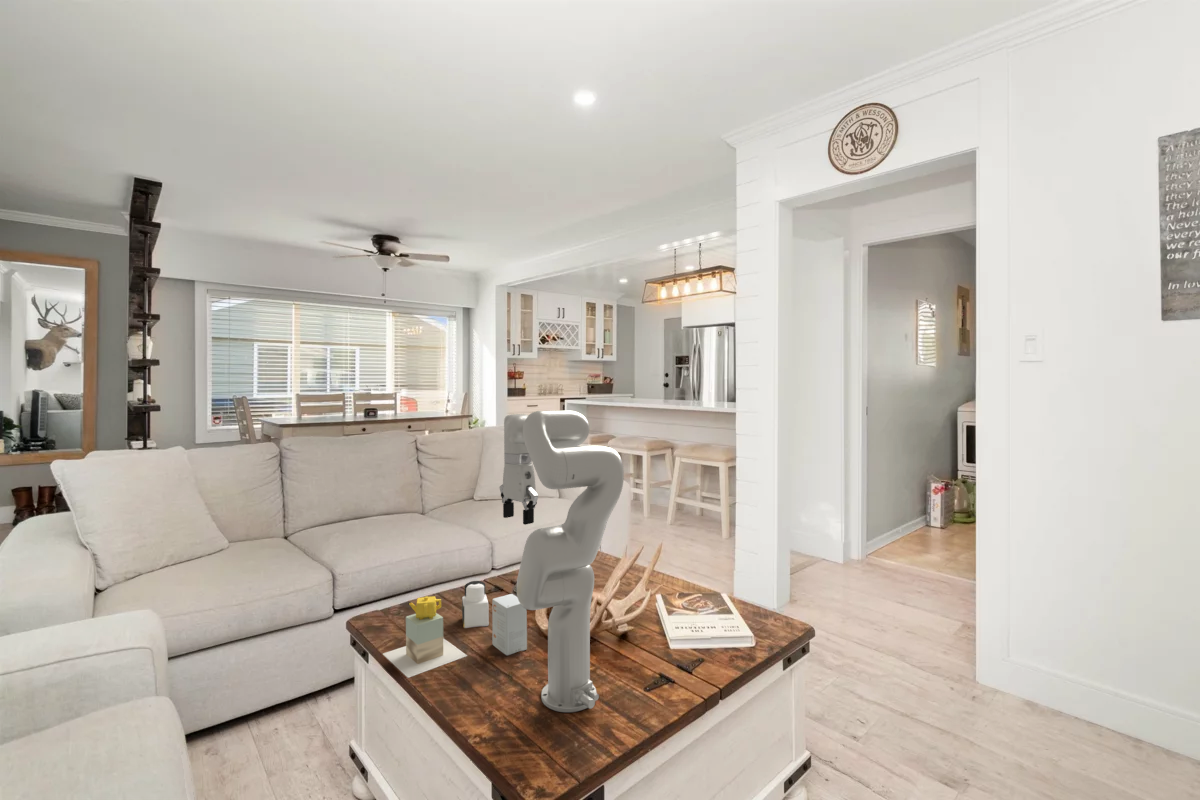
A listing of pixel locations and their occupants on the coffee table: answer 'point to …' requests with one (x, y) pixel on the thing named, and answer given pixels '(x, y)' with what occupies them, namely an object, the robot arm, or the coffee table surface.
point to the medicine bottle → (475, 605)
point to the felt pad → (413, 668)
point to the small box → (509, 624)
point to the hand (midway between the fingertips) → (518, 520)
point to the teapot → (426, 607)
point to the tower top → (424, 628)
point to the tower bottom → (424, 650)
